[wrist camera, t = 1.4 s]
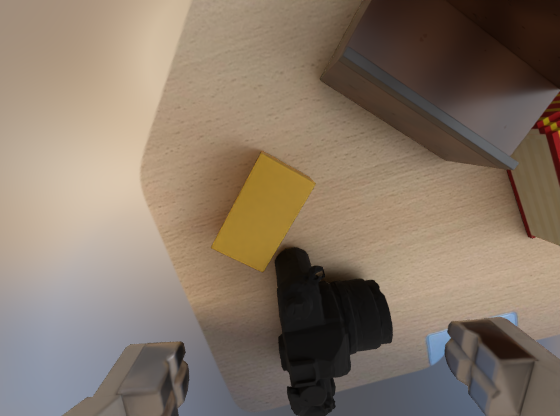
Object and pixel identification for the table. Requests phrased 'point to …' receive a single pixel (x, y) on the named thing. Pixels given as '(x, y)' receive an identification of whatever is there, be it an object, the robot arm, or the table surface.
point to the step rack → (453, 71)
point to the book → (540, 176)
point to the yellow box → (263, 212)
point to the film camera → (324, 329)
